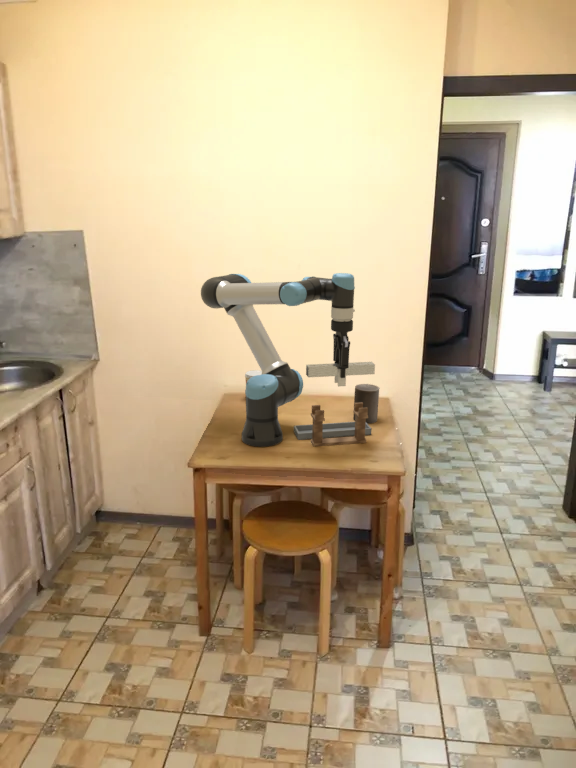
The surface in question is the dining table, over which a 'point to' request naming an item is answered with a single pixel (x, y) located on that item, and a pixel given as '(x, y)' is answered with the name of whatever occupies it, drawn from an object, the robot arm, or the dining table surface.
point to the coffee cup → (252, 374)
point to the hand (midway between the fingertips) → (340, 384)
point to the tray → (329, 430)
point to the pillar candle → (368, 400)
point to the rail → (332, 370)
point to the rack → (359, 437)
